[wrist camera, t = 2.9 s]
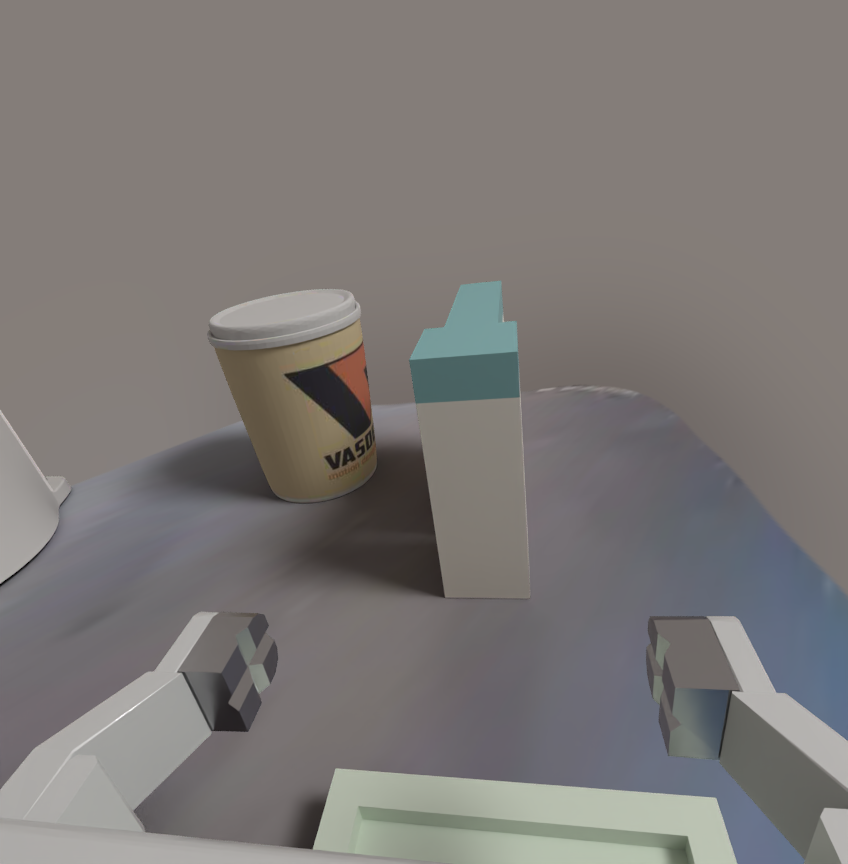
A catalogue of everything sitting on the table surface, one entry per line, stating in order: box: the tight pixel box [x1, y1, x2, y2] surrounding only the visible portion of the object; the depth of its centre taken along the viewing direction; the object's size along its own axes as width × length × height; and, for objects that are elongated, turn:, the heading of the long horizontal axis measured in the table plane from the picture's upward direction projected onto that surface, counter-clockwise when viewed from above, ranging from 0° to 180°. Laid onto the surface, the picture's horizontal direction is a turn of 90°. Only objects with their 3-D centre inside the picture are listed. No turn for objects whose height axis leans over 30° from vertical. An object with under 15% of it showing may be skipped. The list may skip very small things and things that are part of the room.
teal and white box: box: [445, 281, 504, 327], centre depth 30 cm, size 3×9×12 cm, turn 172°
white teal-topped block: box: [409, 321, 530, 599], centre depth 24 cm, size 4×4×12 cm
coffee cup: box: [207, 289, 377, 503], centre depth 35 cm, size 9×9×12 cm
